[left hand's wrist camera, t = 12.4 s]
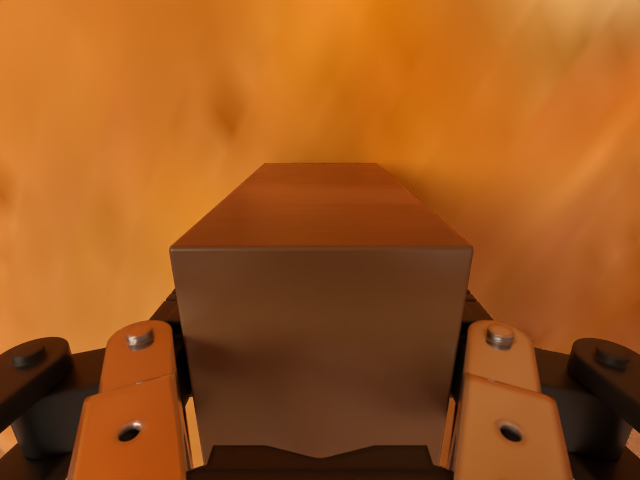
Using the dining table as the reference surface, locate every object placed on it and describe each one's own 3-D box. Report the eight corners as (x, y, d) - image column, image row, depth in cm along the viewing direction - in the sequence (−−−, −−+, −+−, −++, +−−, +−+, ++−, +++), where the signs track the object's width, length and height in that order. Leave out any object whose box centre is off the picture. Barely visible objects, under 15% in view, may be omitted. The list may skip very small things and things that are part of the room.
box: (263, 163, 18) (166, 247, 7) (377, 162, 18) (475, 246, 7) (282, 498, 27) (254, 783, 15) (358, 498, 27) (387, 783, 15)
